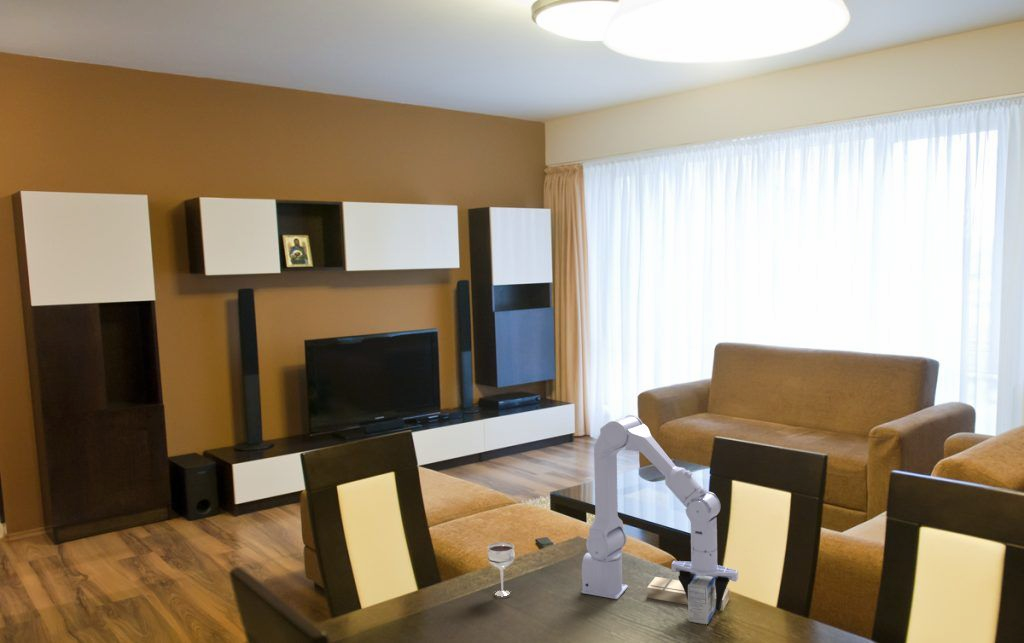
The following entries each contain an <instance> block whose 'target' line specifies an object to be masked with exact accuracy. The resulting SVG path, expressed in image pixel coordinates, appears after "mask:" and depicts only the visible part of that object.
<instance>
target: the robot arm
mask: <svg viewBox="0 0 1024 643" xmlns="http://www.w3.org/2000/svg"><path fill="white" fill-rule="evenodd" d="M599 430H600V432H599V436H598V438H597V440H595V443H594V446H593V453H594V454H593V455H594V456H593V459H594V464H593V465H594V504H595V505H594V506H595V507H594V508H595V509H594V510H595V513H594V514H595V517H594V519H593V521H592V523H591V524H590V526H589V529H588V530H589V531H588V533H589V535H588V536H587V539H586V542H585V543H586V544H585V545H586V549H587V552H586V553H585V554H584V555H583V559H582V563H581V579H582V580H581V582H582V583H581V586H582V589H581V593H582V594H584V595H585V594H586V595H591V596H596V597H597V596H598V597H603V598H607V599H608V598H609V599H612V600H613V599H614V600H618V599H619V598H620V597H621V596H622V595H623V593H625V591H626V590H627V589H628V588H629V585H628V584H623V562H622V561H623V560H622V559H623V558H622V556H623V555H622V553H623V548H624V547H625V545H626V543H627V534H626V532H625V529H624V524H623V523H624V522H623V520H622V519H621V518H620V517H619V515H618V510H619V509H618V507H619V506H618V460H617V457H618V453H619V452H620V451H621V450H623V449H624V450H626V451H632V452H633V451H634V452H639V453H641V454H642V455H643V456H644V457H645V458H646V459H647V460H648V461H649V463H651V464H652V465H653V466H654V467H655V468H656V469H657V470H658V471H659V472H660V473H661V474H662V475H663V476H664V478H665V480H664V481H665V485H666V487H667V488H668V489H669V490H670V491H671V493H673V494H674V496H675V497H676V498H677V499H678V500H679V501H680V503H681V504H682V505H683V506H684V507H685V513H686V514H685V515H686V516H687V518H688V519H689V521H690V560H691V561H685V560H684V561H683V560H682V561H681V560H679V561H678V560H673V561H672V563H671V572H673V573H677V572H679V573H678V574H679V575H678V580H679V581H680V583H681V584H682V586H683V588H684V591H685V593H686V596H687V600H688V585H689V583H690V582H691V581H692V579H693V578H694V576H695V575H697V576H711V577H715V578H717V579H715V588H716V609H715V611H717V612H718V611H720V612H721V610H720V609H721V604H722V599H723V595H724V592H725V589H726V588H728V585H729V582H730V580H731V581H732V582H734V583H735V582H737V581H738V580H739V570H738V569H733V568H729V567H726V566H723V565H720V564H719V565H718V529H717V527H718V524H717V518H718V517H717V515H718V514H719V513H720V511H721V502H720V499H719V498H718V496H717V495H716V494H715V493H714V492H711V491H707V490H706V489H705V487H702V486H701V484H700V483H699V482H698V481H697V480H696V479H695V478H694V477H693V473H692V471H690V469H688V470H687V469H686V468H685V467H681V466H680V467H679V466H676V464H675V463H674V461H672V460H671V458H670V457H669V456H668V455H667V453H666V452H665V451H664V449H663V447H661V446H660V444H659V443H658V442H657V441H656V440H655V438H654V437H653V436H652V434H651V431H650V429H649V427H648V426H647V425H646V424H645V423H643V421H642V420H641V418H639V417H638V416H636V415H633V414H630V415H626V416H624V417H622V418H619V419H615V420H611V421H609V422H607V423H606V424H605V425H603V426H602V427H600V429H599Z"/></svg>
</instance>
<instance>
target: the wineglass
mask: <svg viewBox="0 0 1024 643" xmlns="http://www.w3.org/2000/svg"><path fill="white" fill-rule="evenodd" d="M514 549H515V544H513V543H511V542H506V541H498V542H493V543H490V544H489V545H488V546H487V550H488V552H487V560H488V562H489V564H491V565H492V566H493V567H494V568H497V569H498V570H499V573H500V587H501V591H500V590H497V592H496V591H495V592H496V593H495V595H497V596H501V597H503V596H507V595H509V594H510V592H511V591H510V592H509V590H506V589H505V590H506V591H505V590H504V571H505V569H506V568H508V567H509V566H511V564H513V563H514V561H515V558H516V553H515V550H514Z"/></svg>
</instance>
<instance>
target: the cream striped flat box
mask: <svg viewBox="0 0 1024 643" xmlns="http://www.w3.org/2000/svg"><path fill="white" fill-rule="evenodd" d="M646 590H647V591H646V596H647V598H648V599H649V598H650V599H653V600H654V599H655V600H660V601H666V602H672V603H678V604H683V605H688V600H687V596H686V593H685V591H684V588H683V586H682V584H681V583H680V581H679V579H673V578H667V577H666V578H665V577H661V576H660V577H658V576H655V577H654V578H653V579H652V581H651V582H650V583H649V584H648V585H647V587H646ZM729 600H730V588H728V587H726V589H725V592H724V595H723V599H722V604H721V609H720V611H724V609H725V608H726V606H727V604H728V602H729ZM715 610H716V588H715Z"/></svg>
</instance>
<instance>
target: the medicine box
mask: <svg viewBox="0 0 1024 643" xmlns="http://www.w3.org/2000/svg"><path fill="white" fill-rule="evenodd" d="M715 581H716V577H711V576H697V575H696V574H694V578H693V579H692V581H691V582H690V583H689V585H688V604H687V611H688V615H687V616H688V618H687V619H688V622H692V623H695V624H700V625H705V624H706V626H708V625H707V624H709V623H710V621H711V619H712V617H713V616H714V614H715V612H716V609H715Z"/></svg>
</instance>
